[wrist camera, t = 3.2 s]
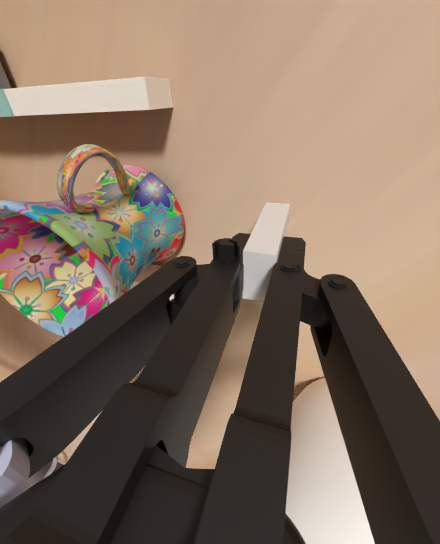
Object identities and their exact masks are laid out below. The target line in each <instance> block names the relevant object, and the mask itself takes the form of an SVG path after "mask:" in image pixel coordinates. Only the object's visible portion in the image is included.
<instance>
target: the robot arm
mask: <svg viewBox="0 0 440 544" xmlns="http://www.w3.org/2000/svg"><path fill="white" fill-rule="evenodd" d="M289 209H290V204H284V203H267V202H266V204H265V206H264V208H263V210H262V212H261V215H260V217H259V219H258V221H257V223H256V225H255V227H254V229H253V231H252V233H251V234H244V233H238V234H237V235H235V236H233V238H232V239H230V238H224V239H219V240H216V241H215V242H213V243H212V246H213V260H212V262H211V263H210V264H204V265H196V260H195V259H194V258H192V257H188V256H180V257H177V258H174V259H173V260H171V261H169V262H168V263H167V264H165V265H164V266H162V267H161V268H160V269H158V270H157V271H156V272H154V273H153V274H151V275H150V276H149V277H147V278H146V279H144V280H143V281H142V282H140V283H139V284H137V285H136V286H135V287H133V288H132V289H130V290H129V291H128V292H126V293H125V294H123V295H122V296H121V297H119V298H118V299H116V300H115V301H114V302H112V303H111V304H109V305H108V306H107V307H105V308H104V309H102V310H101V311H100V312H98V313H97V314H95V315H94V316H93V317H91V318H90V319H88V320H87V321H86V322H84V323H83V324H81V325H80V326H79V327H77V328H76V329H74V330H73V331H72V332H70V333H69V334H67V335H66V336H65V337H63V338H62V339H60V340H59V341H58V342H56V343H55V344H53V345H52V346H51V347H49V348H48V349H46V350H45V351H44V352H42V353H41V354H39V355H38V356H37V357H35V358H34V359H32V360H31V361H30V362H28V363H27V364H25V365H24V366H23V367H21V368H20V369H18V370H17V371H16V372H14V373H13V374H12V375H10V376H9V377H7V378H6V379H5V380H3V381H2V382H0V544H306V543H305V541H304V539H303V537H302V536H301V534H300V532H299V531H298V529H297V528H296V526H295V525H294V523H293V522H292V520H291V519H290V518H289V517H288V516H287V514H286V513H285V512H286V500H287V488H288V475H289V463H290V451H291V417H292V405H293V394H294V382H295V371H296V359H297V347H298V336H299V324H300V321H302V322H304V323H306V324H309V325H311V333H312V336H313V339H314V343H315V346H316V349H317V353H318V356H319V359H320V363H321V366H322V369H323V373H324V376H325V379H326V383H327V386H328V389H329V393H330V396H331V399H332V403H333V406H334V409H335V413H336V416H337V419H338V423H339V426H340V429H341V433H342V436H343V439H344V443H345V446H346V449H347V453H348V456H349V459H350V463H351V466H352V469H353V473H354V476H355V479H356V483H357V486H358V489H359V493H360V496H361V499H362V503H363V506H364V509H365V513H366V516H367V519H368V523H369V526H370V529H371V533H372V536H373V539H374V543H375V544H440V421H439V419H438V418H437V416H436V414H435V413H434V411H433V410H432V408H431V406H430V405H429V403H428V401H427V400H426V398H425V397H424V395H423V393H422V392H421V390H420V388H419V387H418V385H417V384H416V382H415V380H414V379H413V377H412V375H411V374H410V372H409V371H408V369H407V367H406V366H405V364H404V362H403V361H402V359H401V358H400V356H399V354H398V353H397V351H396V349H395V348H394V346H393V345H392V343H391V341H390V340H389V338H388V336H387V335H386V333H385V332H384V330H383V328H382V327H381V325H380V323H379V322H378V320H377V319H376V317H375V315H374V314H373V312H372V310H371V309H370V307H369V306H368V304H367V302H366V301H365V299H364V297H363V296H362V294H361V293H360V291H359V289H358V288H357V286H356V284H355V283H354V282H353V281H352V280H351V279H349V278H347V277H345V276H342V275H337V274H329V275H325V276H323V277H322V278H321V279H320V280H319V279H316V278H314V277H312V276H310V275H308V274H307V273H306V272H305V270H304V256H305V245H306V243H305V241H304V240H303V239H302V238H294V237H287V228H288V219H289ZM242 291H243V299H249V300H256V301H262V302H264V304H263V307H262V311H261V315H260V318H259V322H258V326H257V330H256V333H255V337H254V341H253V345H252V348H251V352H250V356H249V360H248V363H247V367H246V371H245V375H244V378H243V382H242V386H241V390H240V393H239V397H238V401H237V405H236V408H235V411H234V413H233V414H231V416H230V418H229V421H228V424H227V427H226V431H225V434H224V438H223V442H222V445H221V449H220V452H219V456H218V459H217V463H216V467H215V469H191V468H185V467H186V463H187V459H188V452H189V445H190V441H191V438H192V435H193V432H194V430H195V427H196V424H197V421H198V419H199V416H200V413H201V411H202V408H203V405H204V402H205V400H206V397H207V394H208V391H209V389H210V386H211V383H212V381H213V378H214V375H215V372H216V370H217V367H218V364H219V361H220V359H221V356H222V353H223V351H224V348H225V345H226V342H227V340H228V337H229V334H230V331H231V329H232V326H233V323H234V321H235V318H236V315H237V312H238V310H239V307H240V296H241V294H242ZM173 294H174V298H173V299H172V300H170V299H169V298H170V297H171V296H172V295H173ZM145 365H146V366H145ZM144 366H145V367H144ZM143 367H144V369H143V370H142V372H141V374H140V375H139V377H138V378H137V379H136V381H135V382H133V383H129V382H130V381H131V380H132V379H133V378H134V377H135V376H136V375H137V374H138V373H139V372H140V370H141V369H142V368H143ZM102 410H103V411H102ZM101 411H102V412H101ZM100 412H101V414H100V415H99V416H98V418H97V419H96V421H95V422H94V424H93V425H92V427H91V428H90V430H89V431H88V433H87V434H86V436H85V437H84V439H83V440H82V441H81V443H80V444H79V446H78V447H77V449H76V450H75V452H74V453H73V455H72V456H71V458H70V459H69V461H68V462H67V463H66V464H65V465H64V466H62V467H61V468H59V469H58V470H56V471H55V472H53V473H52V474H50V475H48V476H47V477H45V478H44V479H42V480H41V481H39V482H38V483H36V484H35V485H33V486H32V487H30V488H29V483H28V482H27V480H28V478H29V477H30V476H32V475H33V474H35V473H36V472H38V471H39V470H40V469H42V468H43V467H44V466H45V465H46V464H48V463H49V462H50V461H51V460H53V459H54V458H55V457H56V456H57V455H58V454H60V453H61V452H62V451H63V450H64V449H65V448H66V447H67V446H68V445H69V444H70V443H71V442H72V441H73V440H74V439H75V438H76V437H77V436H78V435H79V434H80V433H81V432H82V431H83V430H84V429H85V428H86V427H87V426H88V425H89V424H90V423H91V422H92V421H93V419H94V418H95V417H96V416H97V415H98V414H99V413H100Z"/></svg>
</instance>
